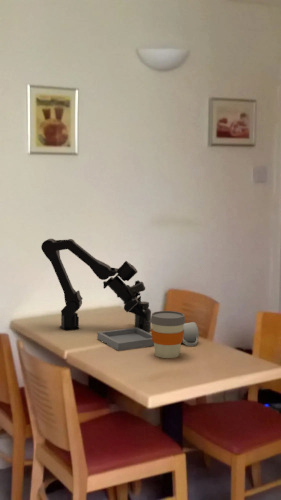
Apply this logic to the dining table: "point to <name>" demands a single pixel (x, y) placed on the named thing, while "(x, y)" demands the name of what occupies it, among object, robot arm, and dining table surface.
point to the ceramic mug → (190, 334)
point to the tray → (126, 338)
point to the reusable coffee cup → (167, 333)
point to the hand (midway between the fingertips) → (146, 315)
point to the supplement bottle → (144, 322)
